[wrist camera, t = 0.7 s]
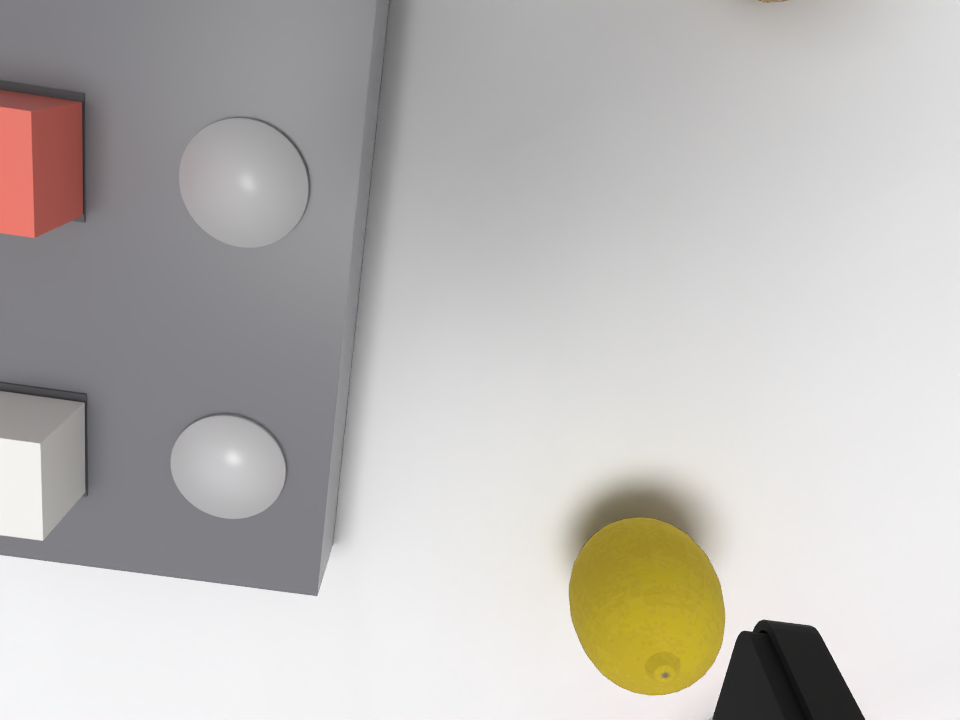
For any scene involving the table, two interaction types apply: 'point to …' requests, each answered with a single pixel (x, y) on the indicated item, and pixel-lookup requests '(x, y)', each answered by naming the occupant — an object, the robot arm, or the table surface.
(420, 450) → the table surface
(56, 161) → the red switch
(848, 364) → the table surface
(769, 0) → the sprinkles bottle
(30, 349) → the switch panel
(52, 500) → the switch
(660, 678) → the lemon
